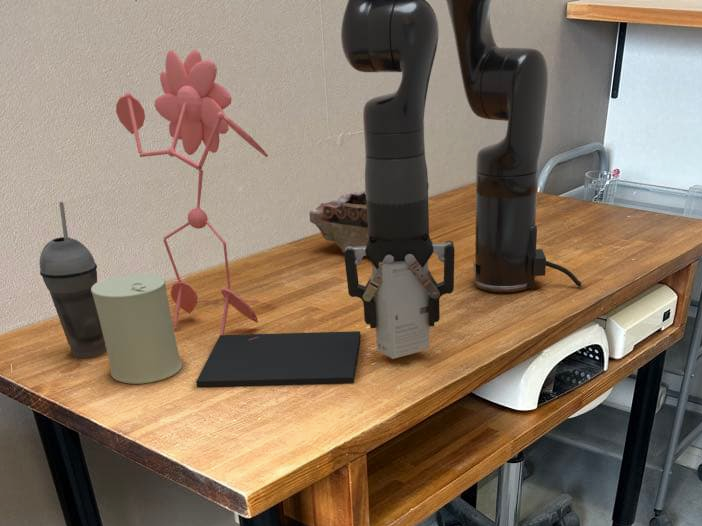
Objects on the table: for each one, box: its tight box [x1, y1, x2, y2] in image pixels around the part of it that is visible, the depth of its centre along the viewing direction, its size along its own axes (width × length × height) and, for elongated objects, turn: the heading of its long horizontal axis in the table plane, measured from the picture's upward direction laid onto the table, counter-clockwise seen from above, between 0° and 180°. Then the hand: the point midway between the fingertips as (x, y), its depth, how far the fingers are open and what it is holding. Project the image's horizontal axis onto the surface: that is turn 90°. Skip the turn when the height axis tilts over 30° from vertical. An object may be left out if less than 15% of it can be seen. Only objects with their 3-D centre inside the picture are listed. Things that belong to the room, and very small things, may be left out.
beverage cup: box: [39, 201, 107, 359], centre depth 114 cm, size 7×7×20 cm
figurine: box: [115, 49, 278, 340], centre depth 119 cm, size 15×26×35 cm, turn 59°
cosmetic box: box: [371, 260, 431, 360], centre depth 111 cm, size 6×4×12 cm
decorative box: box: [309, 190, 369, 254], centre depth 152 cm, size 13×20×10 cm, turn 53°
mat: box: [195, 330, 361, 388], centre depth 115 cm, size 20×16×1 cm
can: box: [91, 272, 183, 385], centre depth 111 cm, size 9×9×12 cm
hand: (402, 325), depth 112 cm, fingers closed on cosmetic box, 7 cm apart
